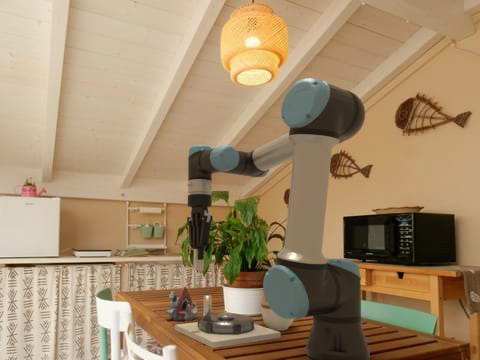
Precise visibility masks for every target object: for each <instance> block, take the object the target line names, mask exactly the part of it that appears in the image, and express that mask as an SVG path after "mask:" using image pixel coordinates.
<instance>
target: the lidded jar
mask: <svg viewBox="0 0 480 360" xmlns="http://www.w3.org/2000/svg"><path fill="white" fill-rule="evenodd" d="M260 305H261V306H260V307H261V317H262V319H263V323H264V324H265V325H266V327H267V328H269V329H272V330H275V331H278V332H280V331H288V329H289V328H290V327H291V325H292V324H293V323H294V319H285V318H282V317H280V316H278V315H277V314H275V313H274V312H273V311H272V309H271V308H270V306H269V304H268V303H267V301H265V300H264V301H262V302H261V303H260Z"/></svg>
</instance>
